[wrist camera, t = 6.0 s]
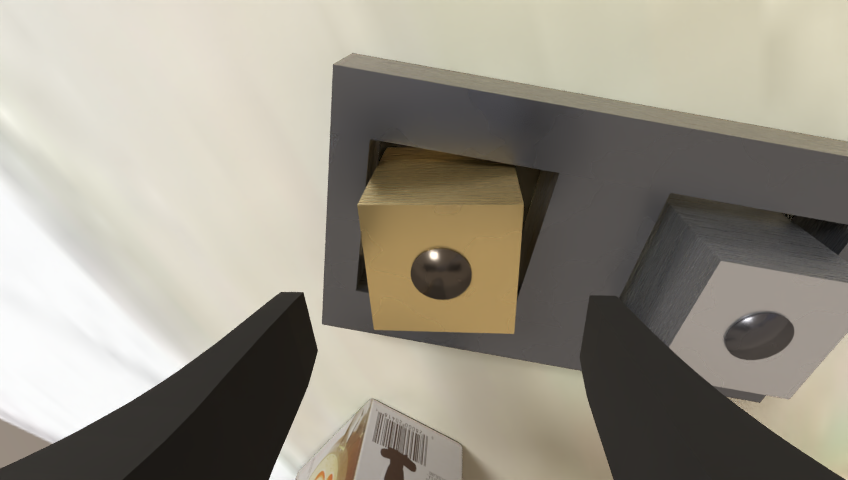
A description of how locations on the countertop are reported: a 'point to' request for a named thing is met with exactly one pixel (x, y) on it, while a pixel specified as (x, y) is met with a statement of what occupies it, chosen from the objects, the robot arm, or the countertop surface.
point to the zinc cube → (740, 294)
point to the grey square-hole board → (561, 187)
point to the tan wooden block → (442, 242)
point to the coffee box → (385, 450)
